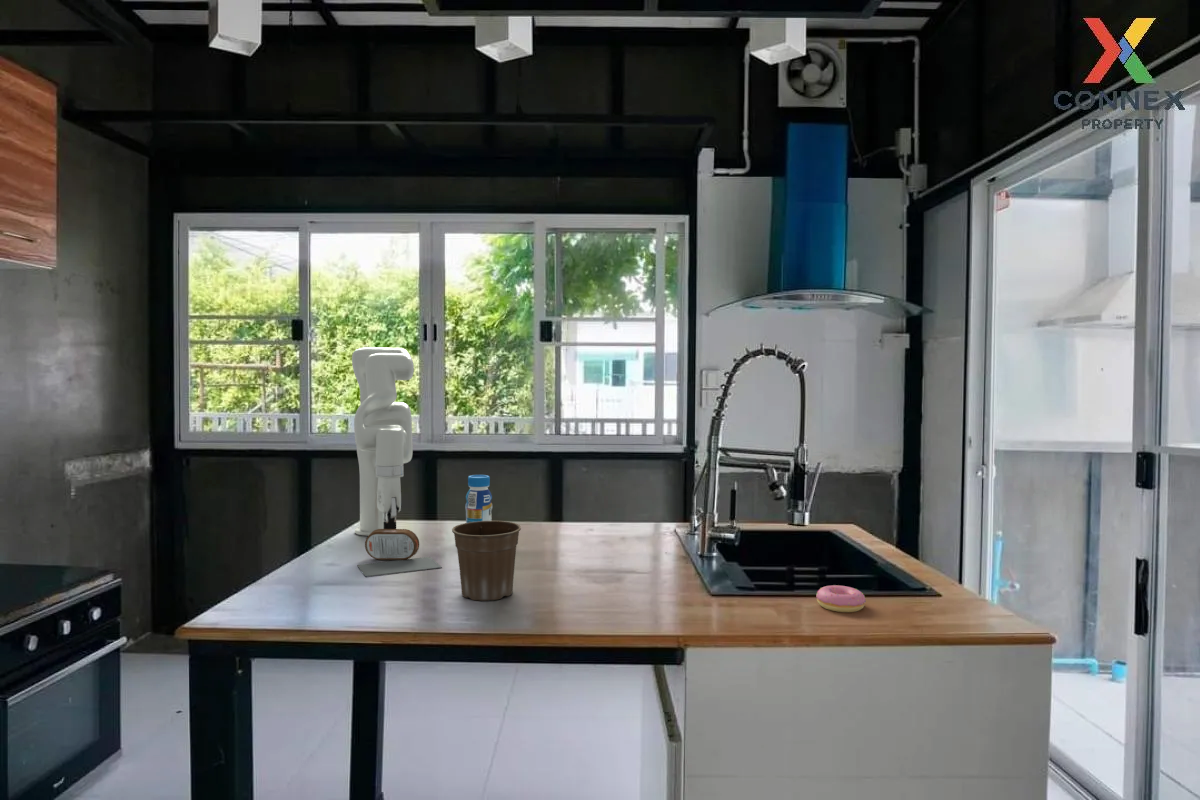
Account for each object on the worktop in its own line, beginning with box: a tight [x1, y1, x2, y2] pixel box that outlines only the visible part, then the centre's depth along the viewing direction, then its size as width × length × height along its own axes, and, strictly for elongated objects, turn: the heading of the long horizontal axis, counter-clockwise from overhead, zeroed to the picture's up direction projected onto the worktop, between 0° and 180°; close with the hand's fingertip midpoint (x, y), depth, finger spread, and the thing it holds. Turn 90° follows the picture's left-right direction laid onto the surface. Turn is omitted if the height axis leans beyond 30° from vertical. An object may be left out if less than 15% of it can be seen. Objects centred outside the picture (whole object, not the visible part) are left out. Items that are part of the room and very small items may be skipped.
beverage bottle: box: [464, 474, 493, 523], centre depth 237 cm, size 8×8×20 cm
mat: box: [356, 556, 443, 577], centre depth 204 cm, size 12×20×1 cm, turn 118°
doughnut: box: [815, 584, 866, 613], centre depth 174 cm, size 11×11×4 cm
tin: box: [364, 528, 420, 561], centre depth 210 cm, size 15×3×8 cm, turn 84°
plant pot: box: [451, 520, 522, 602], centre depth 180 cm, size 16×16×16 cm
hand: (389, 535), depth 213 cm, fingers closed
